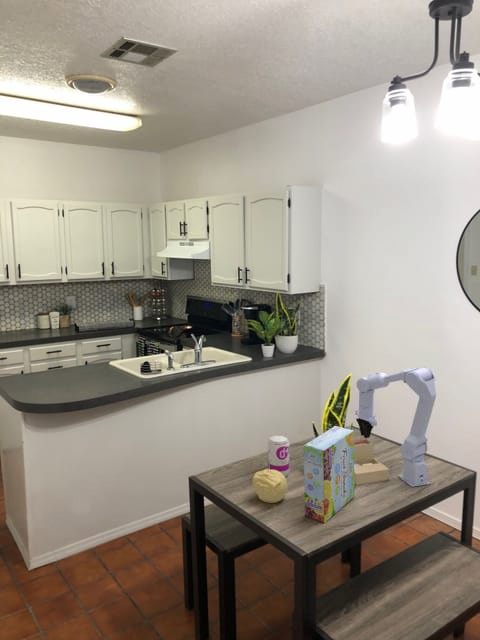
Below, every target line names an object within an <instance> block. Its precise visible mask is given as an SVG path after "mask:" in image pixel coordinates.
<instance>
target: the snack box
mask: <svg viewBox="0 0 480 640" xmlns="http://www.w3.org/2000/svg"><path fill="white" fill-rule="evenodd" d="M354 441H355V430H353V429H349V428H344V427H342V426H338V425H337V426H336V425H334V426H333V427H331V428H330V429H328V430H326V431H324V432H323V433H322V434H320V435H319V436H316V437H315V438H313V439H312V440H311V441H309V442H307V443H306V444H304V445H303V483H304V484H303V487H304V491H303V492H304V494H303V495H304V516H305V517H308V518H310V519H314V520H316V521H319V522H321V523H323V524H326V522H328V520H330V519H331V518H332V517H333V516H334V515H335V514H337V513H338V512H339V511H340V510H341V509H343V507H344V506H346V505H347V504H348V503H349V502H350V501H351V500H352V499H354V497H355V484H354V445H355V444H354Z"/></svg>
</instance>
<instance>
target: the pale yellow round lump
mask: <svg viewBox="0 0 480 640" xmlns="http://www.w3.org/2000/svg"><path fill="white" fill-rule="evenodd" d="M286 478H287V477H285V476H284V475H283V474H282V473H281V472H279V471H277V470H268V468H265V469H263V470H259V471H256V472H255V473H254V474H253V477H252V488H253V489H254V491H255V492H256V495H257V497H258V498H259V500H261V501H262V502H265V503H269V504H274V503H278V502H280V501H282V500H283V499H284V498H285V496H286V495H287V492H288V481H287V479H286Z"/></svg>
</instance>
